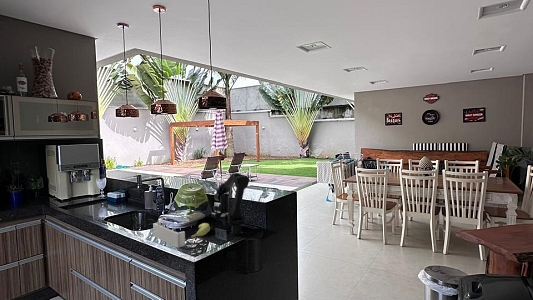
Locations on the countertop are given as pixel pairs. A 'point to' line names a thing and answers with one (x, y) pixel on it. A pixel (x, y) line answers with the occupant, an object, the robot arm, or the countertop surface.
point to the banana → (202, 230)
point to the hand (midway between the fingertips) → (224, 225)
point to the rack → (168, 235)
